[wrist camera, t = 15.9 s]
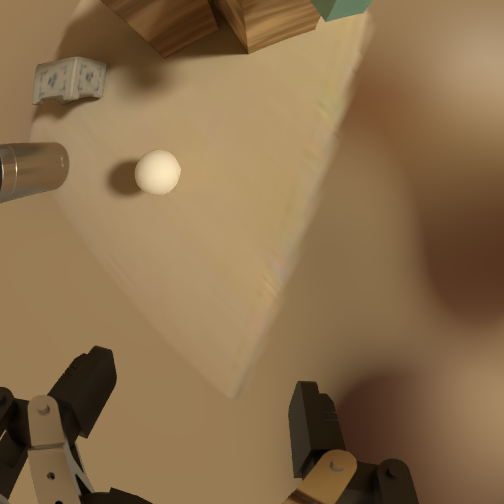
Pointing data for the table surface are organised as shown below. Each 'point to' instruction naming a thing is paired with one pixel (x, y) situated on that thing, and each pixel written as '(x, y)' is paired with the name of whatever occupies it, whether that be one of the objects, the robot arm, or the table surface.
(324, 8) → the bar
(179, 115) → the table surface
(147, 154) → the lightbulb
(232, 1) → the oak block
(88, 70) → the grey speckled block
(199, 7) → the walnut stand
